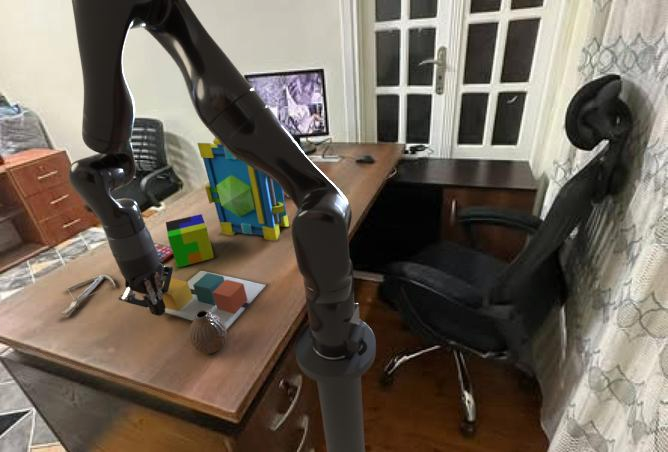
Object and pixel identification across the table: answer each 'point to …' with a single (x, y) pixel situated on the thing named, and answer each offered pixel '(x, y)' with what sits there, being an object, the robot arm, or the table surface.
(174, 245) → the puzzle toy
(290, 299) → the table surface
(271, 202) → the blue yellow-cornered frame
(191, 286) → the desk mat
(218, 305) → the terracotta block
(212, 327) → the vase
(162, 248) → the smartphone
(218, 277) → the teal block
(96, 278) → the crossbow
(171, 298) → the mustard block
